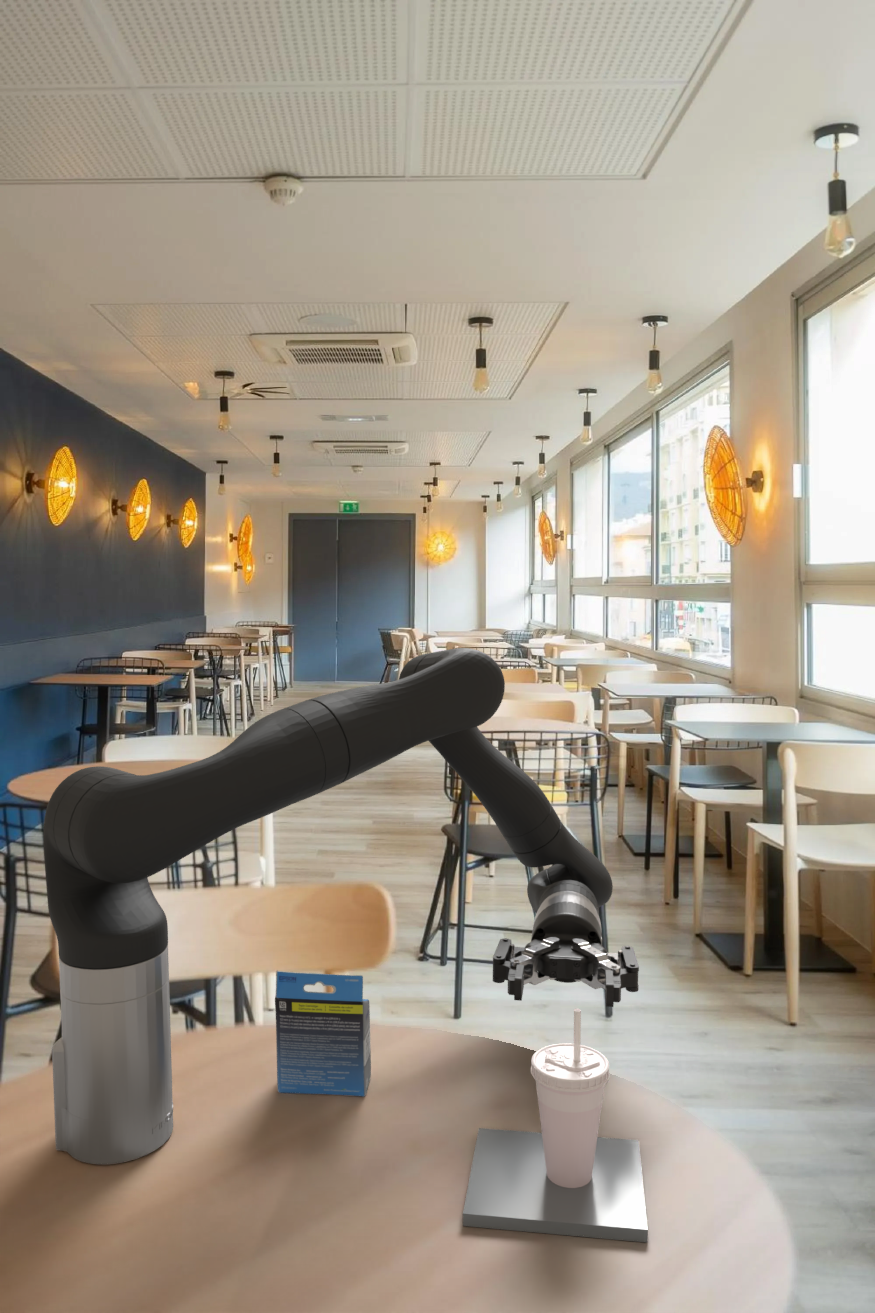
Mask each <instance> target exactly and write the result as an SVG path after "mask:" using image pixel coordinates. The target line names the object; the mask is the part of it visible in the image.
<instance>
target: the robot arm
mask: <svg viewBox="0 0 875 1313" xmlns="http://www.w3.org/2000/svg"><path fill="white" fill-rule="evenodd" d="M505 683H506V682H505V676H504V674H503V671H502V669H501V667H500V666H499V664H498V662H497V661H496V660H495V659H494V658H493V657H491V656H490V655H488V654H487V653H485V652H483V651H480V650H477V649H474V648H470V647H468V648H467V647H457V648H452V649H451V648H450V649H444V650H439V651H433V652H429V653H428V652H427V653H424V654H420V655H417V656H414V657H413V658H411V659H410V660H408V661H407V663H406V664H405V665H404V666H403V667H402V669H401V671H400V673H399V677H398V679H396V680H394V681H389V682H383V683H377V684H372V685H366V686H359V687H354V688H350V689H345V690H340V691H336V692H332V693H331V692H330V693H327V694H322V695H320V696H316V697H312V698H310V699H306V700H304V701H301V702H298V703H294V704H293V705H289V706H287V707H284V708H281V709H279V710H276V711H274V712H272V713H269V714H267V715H265V716H263V717H261V718H259V719H258V720H257V721H255V722H254V723H253V724H251V725H250V726H248V728H246V729H244V731H243V732H242V733H241V734H239V735H238V737H236V738H235V739H234V740H233V741H232V742H231V743H230V744H228V745H227V746H226V747H225V748H223V749H221V750H220V751H218V752H217V753H215V754H213V755H210V756H207V757H206V758H203V759H201V760H198V761H195V762H191V763H188V764H186V765H185V764H184V765H182V766H179V767H175V768H171V769H168V770H164V771H160V772H156V773H152V774H144V775H142V774H141V775H140V774H139V775H138V774H135V773H130V772H128V771H124V770H121V769H118V768H114V767H109V766H100V765H99V766H89V767H85V768H82V769H79V770H77V771H75V772H73V773H72V774H70V775H68V776H67V777H65V778H63V780H62V781H61V782H60V783H59V784H58V786H56V787H55V790H54V791H53V792H52V794H51V796H50V798H49V800H48V803H47V806H46V809H45V812H44V813H45V814H44V820H43V821H44V822H43V857H44V869H45V884H46V896H47V907H48V908H47V909H48V914H49V918H50V922H51V924H52V927H53V930H54V933H55V935H56V939H57V945H58V948H57V949H58V968H59V970H58V972H59V990H60V992H59V995H60V1020H61V1022H60V1023H61V1037H60V1038H59V1039H58V1040H56V1042H54V1044H53V1045H52V1047H51V1053H52V1054H51V1058H52V1059H51V1060H52V1061H51V1062H52V1080H53V1081H52V1082H53V1083H52V1084H53V1110H54V1111H53V1112H54V1113H53V1114H54V1134H55V1135H54V1137H55V1140H54V1141H55V1142H54V1143H55V1151H64V1152H66V1153H68V1154H69V1155H70V1156H71V1157H72V1158H73V1159H75V1160H77V1161H79V1162H82V1163H87V1164H90V1165H92V1164H93V1165H114V1164H120V1163H121V1164H122V1163H127V1162H129V1161H132V1160H133V1161H134V1160H137V1159H139V1158H142V1157H144V1156H147V1155H149V1154H150V1153H152V1152H154V1151H156V1150H157V1149H159V1148H160V1147H162V1146H163V1145H164V1144H165V1143H166V1142H167V1141H168V1140H169V1139H170V1137H171V1136H172V1133H173V1129H174V1102H173V1101H174V1100H173V1069H172V1068H173V1067H172V1065H173V1064H172V1035H171V1034H172V1033H171V1029H172V1028H171V1005H170V1004H171V1002H170V998H171V996H170V971H169V968H170V966H169V930H168V929H169V928H168V927H169V926H168V920H167V915H166V913H165V911H164V910H163V908H162V906H161V905H160V903H159V902H158V899H157V898H156V896H155V895H154V893H153V890H152V888H151V885H150V882H149V878H150V877H152V876H153V875H156V874H158V873H160V872H162V871H164V870H165V869H167V868H169V867H170V866H172V865H174V864H175V863H177V862H179V861H181V860H182V859H184V858H186V857H187V856H189V855H191V854H192V853H194V852H196V851H198V850H199V849H201V848H203V847H204V846H206V845H208V844H209V843H210V844H211V842H213V841H214V840H217V839H218V838H221V837H222V836H224V835H226V834H227V833H230V832H231V831H233V830H235V829H237V828H240V827H242V826H244V825H246V824H249V823H251V822H254V821H257V820H259V819H261V818H264V817H266V816H268V815H271V814H274V813H275V812H277V811H279V810H282V809H284V808H286V807H289V806H291V805H293V804H296V803H300V802H301V801H303V800H304V801H305V800H307V799H309V798H311V797H314V796H317V795H319V794H321V793H323V792H325V791H328V790H329V789H332V788H334V787H336V786H339V785H341V784H343V783H345V782H347V781H349V780H351V779H352V778H353V779H354V777H357V776H360V775H361V774H363V773H365V772H367V771H370V770H372V769H373V768H375V767H378V766H379V765H382V764H384V763H386V762H388V761H389V760H392V759H393V758H395V757H397V756H399V755H401V754H402V753H404V752H407V751H408V750H410V749H411V748H414V747H416V746H418V745H421V744H423V743H426V742H429V743H430V744H431V745H432V747H433V748H434V749H436V751H437V752H438V753H439V754H440V756H441V757H442V758H443V759H444V760H445V761H446V762H447V763H448V765H449V766H450V767H451V769H453V770H454V772H455V773H456V774H457V775H458V776H459V778H461V780H462V781H463V782H464V783H465V785H466V786H467V787H468V788H469V790H470V791H472V793H473V794H474V795H475V797H476V798H477V799H478V800H479V802H480V803H481V805H482V806H483V807H484V809H485V810H486V811H487V813H488V814H489V816H490V818H491V820H493V821H492V822H494V823H495V825H496V827H497V828H498V830H499V832H500V833H501V834H502V835H501V836H502V837H503V838H504V840H505V841H506V843H507V844H508V846H509V847H510V849H511V851H512V852H513V854H514V855H515V857H516V858H517V860H518V861H519V862H520V863H521V865H523V866H525V867H528V868H542V867H547V866H549V867H547V868H545V869H543V870H541V871H539V872H538V873H536V874H534V875H533V876H532V878H530V879H529V881H528V883H527V887H526V890H527V894H526V895H527V897H528V901H529V904H530V906H531V908H532V910H533V911H534V913H535V917H534V920H533V925H532V931H531V938H530V942H528V943H527V944H526V945H525V946H524V947H521V946H515V944H514V943H512V939H510V938H507V937H506V938H505V937H504V938H500V939H499V941H498V944H497V946H496V948H495V951H494V954H493V956H492V982H493V983H495V984H496V983H497V984H502V983H505V981H507V994H508V995H509V996H513V999H514V1001H522V999H523V995H524V993H523V992H524V988H525V985H527V984H530V985H533V986H536V985H538V984H541V983H544V982H547V981H549V980H551V981H555V982H559V983H566V984H567V983H572V984H573V983H578V982H580V983H584V984H585V985H586V986H589V987H591V988H592V989H594V990H599V989H602V990H605V991H604V993H605V994H604V995H605V996H604V997H605V1007H606V1008H614V1005H615V1004H614V1003H620V1002H621V1000H622V989H625V990H626V991H627V992H631V993H638V991H639V971H640V966H639V961H638V959H637V955H636V952H635V948H634V947H633V946H630V945H623V946H621V950H619V949H618V951H617V952H608V950H607V949H606V948H605V947H604V946H603V937H602V936H603V935H602V933H603V932H602V924H601V923H602V922H601V919H600V916H599V908H601V907H603V906H604V905H606V904H607V903H608V902H609V901H610V899H611V897H612V894H613V887H614V886H613V881H612V877H611V875H610V873H609V870H608V869H607V867H606V866H605V865H604V863H603V862H602V861H601V860H600V859H599V858H598V857H597V856H596V855H595V854H594V853H592V852H591V851H590V850H589V849H587V847H585V845H583V844H582V843H581V842H579V840H578V839H576V838H575V836H574V835H573V834H571V833H570V832H569V830H568V829H567V828H566V826H565V825H564V823H563V822H562V820H561V819H560V817H559V816H558V813H557V812H556V810H555V809H554V807H553V805H552V804H551V802H550V801H549V799H548V797H547V795H546V794H545V793H544V791H543V790H542V789H541V787H540V786H539V785H538V784H537V782H536V781H534V779H532V777H530V775H528V773H526V772H524V770H523V769H521V768H520V767H519V766H518V765H517V764H515V763H514V761H512V760H511V759H510V758H508V757H507V756H506V755H504V754H503V753H502V752H501V751H500V750H499V749H498V748H497V747H495V745H494V744H492V742H490V740H489V739H488V738H487V737H486V736H485V735H484V734H483V733H482V731H481V730H480V729H479V727H480V726H482V725H483V724H485V723H486V722H488V721H489V720H490V719H491V718H492V717H493V716H494V715H495V714H496V712H497V711H499V708H500V706H501V704H502V702H503V699H504V694H505V688H506V687H505V685H506V684H505Z"/></svg>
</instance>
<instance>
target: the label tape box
mask: <svg viewBox="0 0 875 1313" xmlns="http://www.w3.org/2000/svg"><path fill="white" fill-rule="evenodd" d="M317 983H319V984H321V985H322V987H331V988H333V991H332V992H328V991H327V992H325V991H308V990H306V989H305V986H315V985H316V984H317ZM363 991H364V976H363V975H361V974H360V975H357V974H356V975H355V974H353V975H351V974H335V973H334V974H332V973H331V974H330V973H329V974H328V973H318V972H317V973H316V972H315V973H314V972H293V971H282V970H276V971H275V996H274V997H275V998H274V1007H275V1037H276V1039H275V1040H276V1041H275V1042H276V1079H277V1080H276V1082H277V1083H276V1084H277V1085H276V1086H277V1092H278V1093H279V1094H296V1095H297V1094H298V1095H299V1094H300V1095H302V1094H303V1095H334V1096H351V1097H353V1096H354V1097H355V1096H356V1097H366V1095H367V1093H368V1092H367V1091H368V1087H369V1085H370V1081H371V1076H372V1060H371V1059H372V1055H371V1053H372V1052H371V1050H372V1049H371V1048H372V1047H371V1045H372V1044H371V1019H370V1018H371V1013H370V1012H371V1011H370V1007H371V1006H370V1000H369V998H367V999H364V998H363V997H364V996H363V995H364V994H363V993H364V992H363Z"/></svg>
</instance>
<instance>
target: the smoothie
mask: <svg viewBox="0 0 875 1313" xmlns="http://www.w3.org/2000/svg"><path fill="white" fill-rule="evenodd" d="M581 1025H582V1010H581V1009H580V1008H574V1009H573V1043H570V1042H568V1043H566V1042H565V1043H562V1042H561V1043H554V1044H550V1045H546V1046H542V1047H541V1048H540V1049H538V1050H536V1051H535V1052H534V1053H533V1055H532V1056H531V1066H530V1074H531V1076H532V1077H533V1079H534V1080H535V1088H536V1095H537V1096H536V1097H537V1104H538V1111H539V1121H540V1128H541V1129H540V1130H541V1133H542V1138H543V1147H544V1155H545V1164H546V1172H547V1176H548V1178H549V1179H550V1180H551V1181H552V1182H553V1183H555V1184H556V1185H559V1186H562V1187H566V1188H578V1187H582V1186H584V1185H586V1184H588V1183H589V1182H590V1181H591V1178H592V1172H593V1165H594V1158H595V1150H596V1143H597V1137H599V1135H598V1134H599V1129H600V1122H601V1114H602V1113H601V1112H602V1106H603V1100H604V1093H605V1087H606V1086H605V1084H606V1083H608V1081H609V1079H610V1076H611V1073H610V1062H609V1060H608V1058H607V1056H605V1055H604V1054H603V1053H602V1052H600V1051H599V1050H597V1049H594V1048H592V1047H590V1046H587V1045H584V1044H581V1042H582V1041H581V1040H582V1039H581V1038H582V1037H581V1034H582V1033H581V1032H582V1026H581Z"/></svg>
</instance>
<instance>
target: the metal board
mask: <svg viewBox="0 0 875 1313" xmlns="http://www.w3.org/2000/svg"><path fill="white" fill-rule="evenodd" d="M477 1130H478V1131H477V1136H476V1142H475V1148H474V1153H473V1158H472V1162H471V1168H470V1173H469V1177H468V1178H469V1180H468V1184H467V1190H466V1193H465V1194H466V1195H465V1199H464V1205H463V1212H462V1227H472V1228H480V1229H481V1228H482V1229H494V1230H505V1231H516V1232H528V1233H538V1234H549V1235H550V1234H551V1235H560V1236H571V1237H583V1238H593V1239H604V1240H615V1241H627V1242H636V1243H637V1242H640V1243H648V1242H649V1241H648V1240H649V1237H648V1236H649V1228H648V1218H647V1209H646V1198H645V1189H644V1188H645V1187H644V1178H643V1170H642V1159H641V1158H642V1157H641V1149H640V1140H639V1139H630V1138H617V1137H616V1138H615V1137H607V1136H606V1137H603V1136H597V1143H596V1150H595V1158H594V1165H593V1172H592V1178H591V1181H590V1182H589V1183H588V1184H586V1185H584V1186H582V1187H578V1188H566V1187H562V1186H559V1185H556V1184H555V1183H553V1182H552V1181H551V1180H550V1179H549V1178H548V1176H547V1172H546V1164H545V1155H544V1147H543V1138H542V1132H536V1131H524V1130H509V1129H498V1128H497V1129H496V1128H485V1127H484V1128H483V1127H478V1129H477Z"/></svg>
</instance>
